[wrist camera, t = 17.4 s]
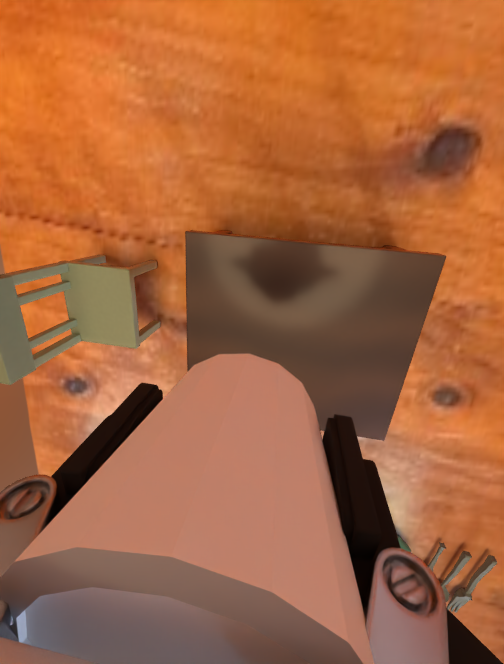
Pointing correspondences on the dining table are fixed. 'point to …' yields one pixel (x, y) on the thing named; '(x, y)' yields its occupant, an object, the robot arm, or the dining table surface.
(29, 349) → the chair
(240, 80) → the dining table surface
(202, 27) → the dining table surface
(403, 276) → the model table
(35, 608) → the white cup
